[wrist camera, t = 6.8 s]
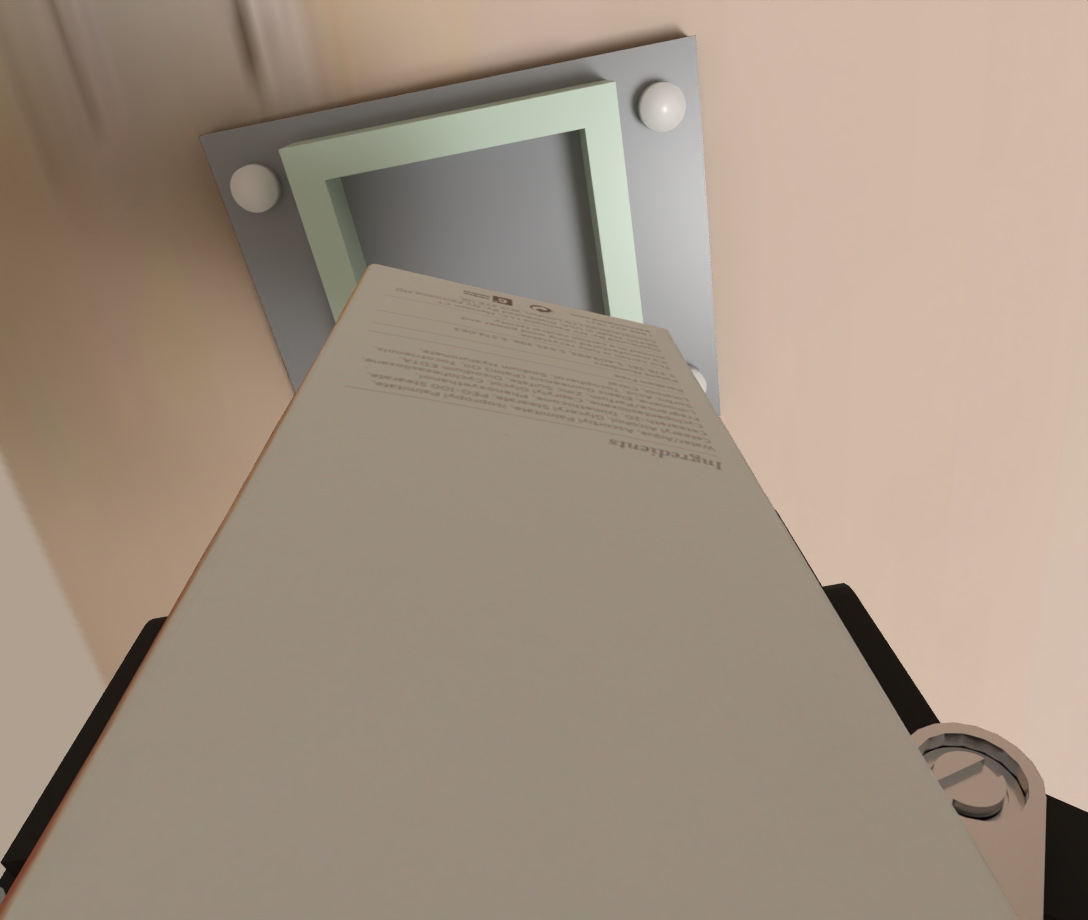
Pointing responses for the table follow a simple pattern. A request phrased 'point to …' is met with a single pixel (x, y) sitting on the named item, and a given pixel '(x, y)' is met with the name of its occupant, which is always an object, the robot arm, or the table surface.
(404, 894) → the small box
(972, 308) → the table surface
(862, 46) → the table surface
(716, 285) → the table surface
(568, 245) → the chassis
